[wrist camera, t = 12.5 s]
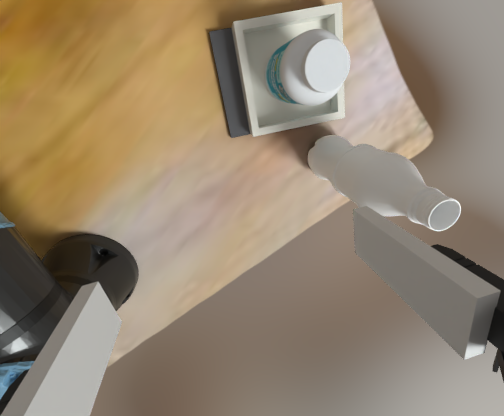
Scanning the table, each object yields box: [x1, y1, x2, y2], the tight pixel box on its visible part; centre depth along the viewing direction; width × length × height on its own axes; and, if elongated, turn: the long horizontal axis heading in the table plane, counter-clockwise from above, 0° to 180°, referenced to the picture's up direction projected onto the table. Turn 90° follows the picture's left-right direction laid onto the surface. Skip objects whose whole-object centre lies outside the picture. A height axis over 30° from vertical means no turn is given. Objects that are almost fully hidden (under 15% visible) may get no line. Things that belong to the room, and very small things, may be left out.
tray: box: [231, 2, 345, 137], centre depth 36 cm, size 14×14×3 cm
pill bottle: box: [265, 29, 350, 106], centre depth 31 cm, size 8×7×14 cm
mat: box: [209, 28, 250, 138], centre depth 38 cm, size 18×14×1 cm
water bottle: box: [308, 135, 461, 231], centre depth 33 cm, size 7×7×25 cm
